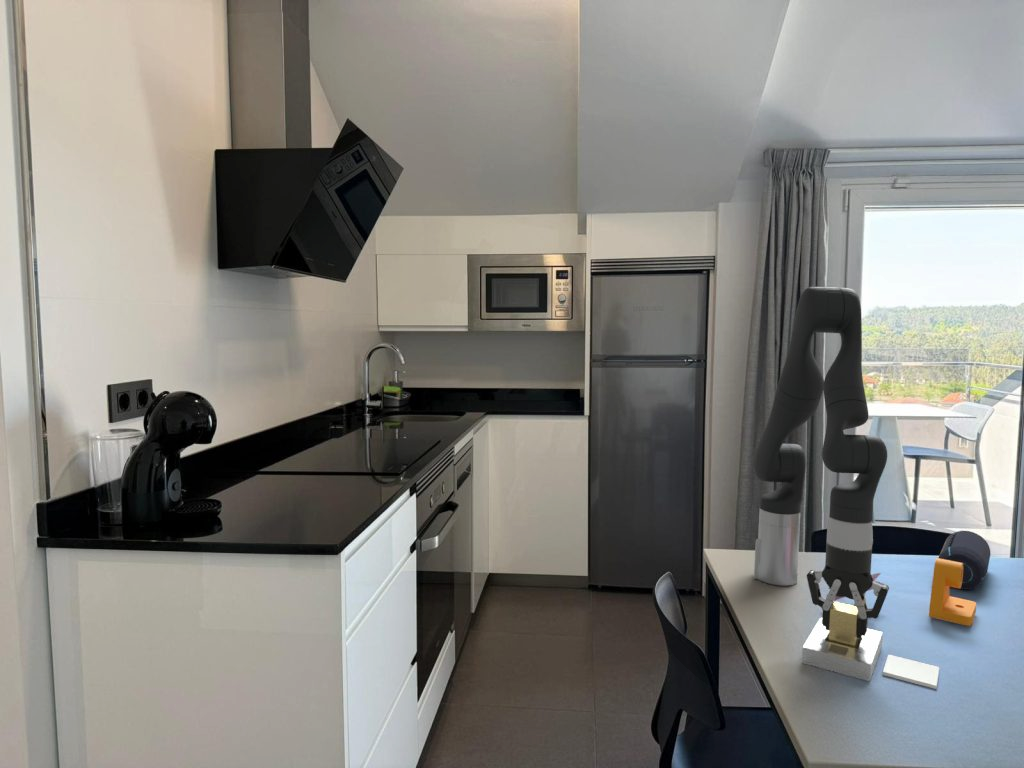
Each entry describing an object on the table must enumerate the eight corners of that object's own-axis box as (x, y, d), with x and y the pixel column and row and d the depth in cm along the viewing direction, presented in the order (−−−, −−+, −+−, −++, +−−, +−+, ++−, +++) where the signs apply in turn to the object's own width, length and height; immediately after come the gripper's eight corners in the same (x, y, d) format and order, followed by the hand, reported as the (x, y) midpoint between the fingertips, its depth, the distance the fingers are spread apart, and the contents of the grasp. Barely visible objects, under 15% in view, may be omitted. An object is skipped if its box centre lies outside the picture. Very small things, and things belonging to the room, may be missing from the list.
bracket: (969, 630, 138) (973, 572, 137) (928, 620, 143) (932, 564, 142) (976, 614, 146) (980, 559, 145) (937, 605, 151) (940, 552, 150)
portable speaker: (944, 560, 181) (946, 524, 181) (989, 569, 175) (992, 531, 175) (933, 587, 162) (936, 546, 161) (984, 598, 156) (987, 555, 155)
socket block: (801, 662, 123) (802, 645, 122) (819, 631, 136) (820, 616, 136) (869, 681, 116) (870, 663, 116) (881, 647, 129) (882, 631, 129)
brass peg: (827, 656, 126) (830, 609, 125) (832, 647, 129) (834, 601, 128) (854, 663, 123) (856, 615, 122) (857, 654, 127) (860, 607, 126)
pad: (882, 674, 119) (882, 671, 119) (888, 657, 125) (888, 654, 125) (936, 689, 114) (936, 685, 114) (939, 670, 121) (939, 667, 121)
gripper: (803, 540, 125) (798, 629, 127) (891, 555, 117) (885, 651, 119) (811, 530, 132) (807, 616, 133) (895, 545, 123) (890, 635, 125)
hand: (844, 632), depth 126 cm, fingers open, 4 cm apart
